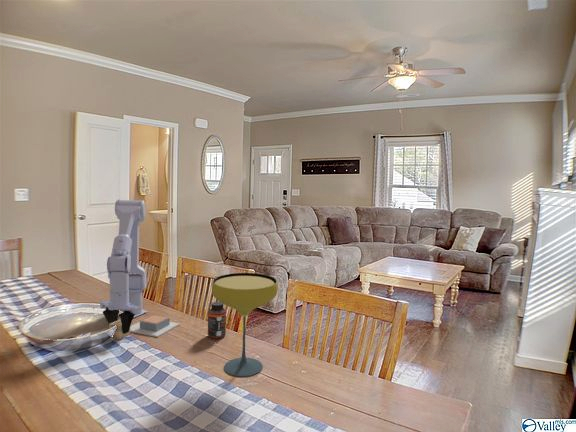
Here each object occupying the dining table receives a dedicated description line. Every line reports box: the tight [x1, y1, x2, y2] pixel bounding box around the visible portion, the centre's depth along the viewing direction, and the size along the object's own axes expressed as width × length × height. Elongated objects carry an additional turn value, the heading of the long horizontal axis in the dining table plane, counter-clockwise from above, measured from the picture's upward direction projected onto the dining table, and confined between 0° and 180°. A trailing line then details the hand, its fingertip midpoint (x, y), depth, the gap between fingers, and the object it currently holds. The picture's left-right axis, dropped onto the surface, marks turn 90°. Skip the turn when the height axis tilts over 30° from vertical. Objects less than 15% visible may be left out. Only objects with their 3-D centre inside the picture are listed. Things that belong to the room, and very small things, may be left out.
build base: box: [130, 314, 181, 338], centre depth 134 cm, size 14×12×3 cm
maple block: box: [108, 318, 131, 340], centre depth 126 cm, size 4×4×4 cm
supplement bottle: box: [207, 301, 227, 340], centre depth 128 cm, size 6×6×11 cm
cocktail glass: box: [211, 272, 279, 378], centre depth 107 cm, size 18×18×25 cm
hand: (119, 331), depth 126 cm, fingers closed on maple block, 4 cm apart
